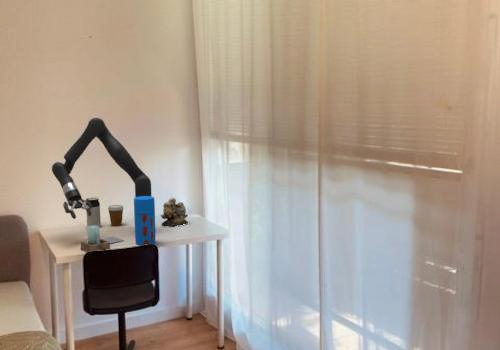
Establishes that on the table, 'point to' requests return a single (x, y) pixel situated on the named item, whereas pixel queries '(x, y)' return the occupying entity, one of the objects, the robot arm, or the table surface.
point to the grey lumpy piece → (174, 213)
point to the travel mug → (94, 212)
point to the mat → (113, 240)
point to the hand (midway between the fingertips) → (82, 216)
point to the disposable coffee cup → (116, 214)
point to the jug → (93, 234)
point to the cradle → (95, 246)
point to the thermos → (144, 220)
